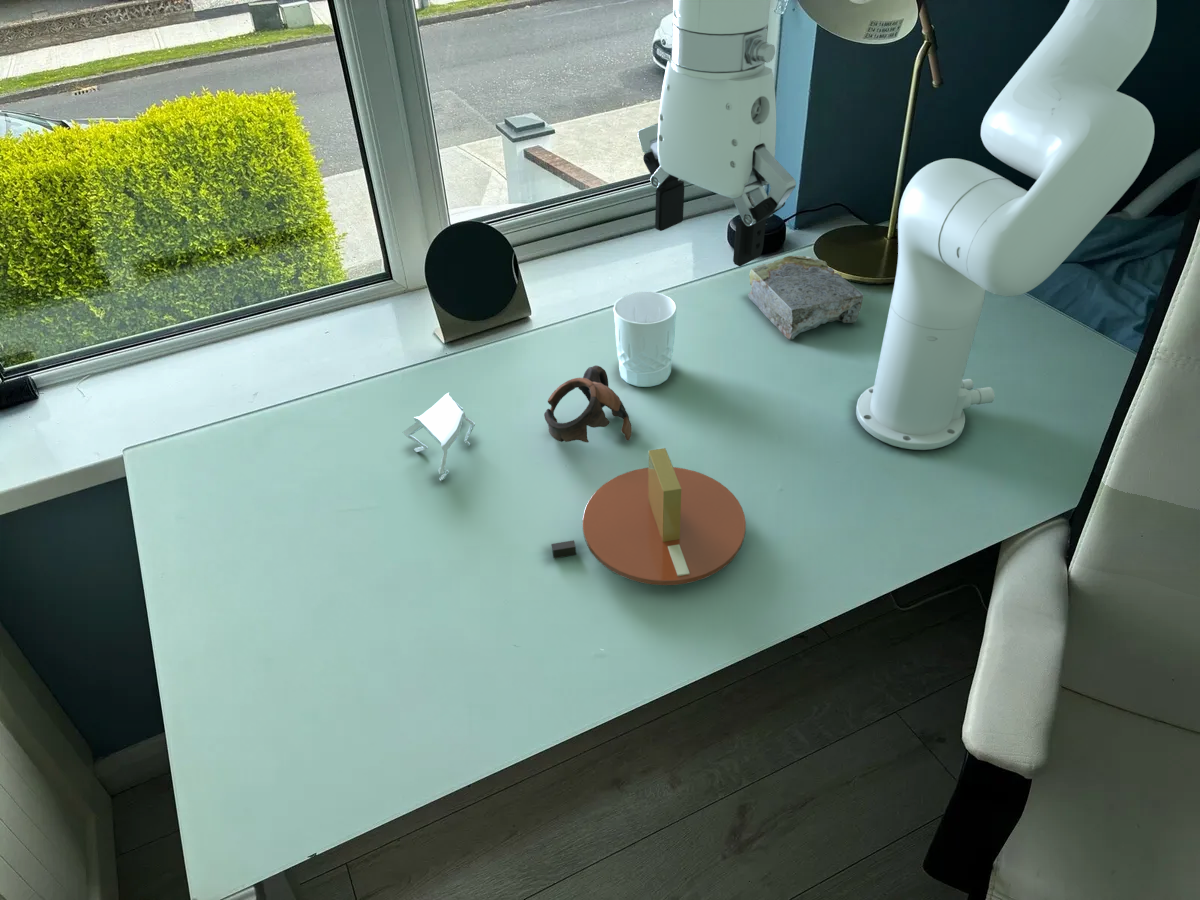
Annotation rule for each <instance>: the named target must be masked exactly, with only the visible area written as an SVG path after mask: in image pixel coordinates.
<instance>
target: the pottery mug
mask: <svg viewBox="0 0 1200 900" xmlns="http://www.w3.org/2000/svg"><path fill="white" fill-rule="evenodd" d="M575 389H578V390H580V391H581V392H582V394H583V395H584V396H585V398H586V400H587V401H588V404H587V406H586V408H585V409H584V410H583V412H581V414H580V415H578V416H577V417H576V418H574V419H572V420H570V421H568V422H558V419H557V418H556V417H555V410H556V408H557V406H558V405H559V403H560V401H561V400H562V399H563V398H564V397H565V396H566V395H567V394H569V393H570V392H572V391H574V390H575ZM547 403H548V405H550V408H547V409H546V410H545V412H544V414H543V416H544V419H545V422H546V424H547V426H548V432H549V434H550V436H551V437H552V438H553V439H555V441H558V442H560V443H562V442H565V443H570V442H574V441H575V442H576V441H580V442H583V443H587V444H588V443H589V442H590V441H589V439H588V427H590V428H606V427H608V426H609V425H610V424H611V421H610V420H609V419H608V417H607V416H606V413H605V411H604V409H603V408H604V407H607V408H608V409H610V410H611V411H610V412H611V415H612V416H613V417H616V418H621V419H622V420H623V421H622V426H621V429H620V432H621V433H622V434H623V435H624V439H625V441H627V442H628V441H630V440H631V437H632V432H633V427H632V423H631V420H630V415H629V413H628V412H627V410H626V408H625V406H624V403H623V401H622V400H621V399H620V397H619V395H618V394H617V393H616V392H615V391H614V389H611V388H610V386H609V377H608V374H607V371H606V370H605V369H604V368H603V367H602V366H600V365H592V366H589V367H588V368H586V370H585V371H584V373H583V377H575V378H571V379H569V380H566V381H564V382H563V383H562V384H560V385H559V386H557V388H556V389H554V391H553V392H552V393H551V395H550V396H549V397H548V399H547Z"/></svg>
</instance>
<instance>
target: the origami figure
mask: <svg viewBox="0 0 1200 900" xmlns="http://www.w3.org/2000/svg"><path fill="white" fill-rule="evenodd" d="M413 419H414V423H413V424H412V425H410V426H409V427H407V428H406V429H405V430H404V431H402V434H403V435H404V436H405V437H407V438H408V439H410V440H411V441H413V442H414V443H416V444H417V445H419V447H415V448H413V451H414V452H415V453H418V452H422V451H425V450H428V449H429V447H428V446H427V445H426V444H425V443H423V442H422V441H420V440H419V439H417V438H416V437H415V436H413V435H414V434H415V433H417V432H418V431H420V430H422V429H424V430H425V431H426V432H427V433H428V434H429V435H430V436H431V437H432V438H433V439H434V440H435V441H436V442H437V444H439V445H440V447H441V450H442V456H441V460H440V463H439V468H438V474H439V475H441V476H440V477H439V481H440V482H442V481H444V480H445V478H446V477H447V476H448V474H449V473H450V471H449V469H446V464H447V458H448V450H449V449H450V447H451V446H452V444H454V442H455V441H456V439H457V438H458V437H459V435H460V433H461V430H462V427H463V422H464V421H466V422H467V423H469V424H470V425H469V428H468V430H467V432H466V434H465V437H464V439H463V441H464V443H466V445H467V446H470V445H471V443H470V441H468V438H469V436H470V435H471V433H472V431H473V430H474V427H475V425H476V423H475V422H474V420H472V419H471V418H469V417H467V416H466V413H465V411H464V408H463V406H461V405H460V404H459V403H458V402H457V401H456V400H455V399H454V398H452V396H451V395H450V391H449V392H447V393H446V394H444V395H443V396H442V397H441V398H440V399H439V400H438V401H437V402H436V403H434V404H433V405H432V406H431V407H430V408H428V409H427V410H426V411H424V412H423V413H422V414H420V415H419V416H413Z"/></svg>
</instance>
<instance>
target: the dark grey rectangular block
mask: <svg viewBox="0 0 1200 900" xmlns="http://www.w3.org/2000/svg"><path fill="white" fill-rule="evenodd" d="M576 547H577V546H576V543H575V540H568V541H561V542H554V543H551V552H552V558H553V559H557V558H563V557H570V556H576V555H577V549H576Z"/></svg>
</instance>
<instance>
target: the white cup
mask: <svg viewBox="0 0 1200 900" xmlns="http://www.w3.org/2000/svg"><path fill="white" fill-rule="evenodd" d="M677 308H678V306H677V303H676V301H674V300H673V299H672V298H671V297H670V296H669V295H666V294H663V293H660V292H655V291H647V290H646V291H635V292H631V293H627V294H625V295H623V296H621V297H619V298H618V299H616V301H615V302H614V304H613V318H614V319H613V320H614V332H615V344H616V354H617V355H616V356H617V359H618V368H619V369H618V370H619V375H620V378H621V379H622V380H623V381H625V382H626V383H627V384H629V385H632V386H635V387H642V388H643V387H644V388H649V387H650V388H651V387H655V386H659V385H661V384H662V383H664V382H666V381H668V379H669V378H670V375H671V373H672V361H673V360H672V359H673V355H674V345H675V335H676V323H677V322H676V321H677Z"/></svg>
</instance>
